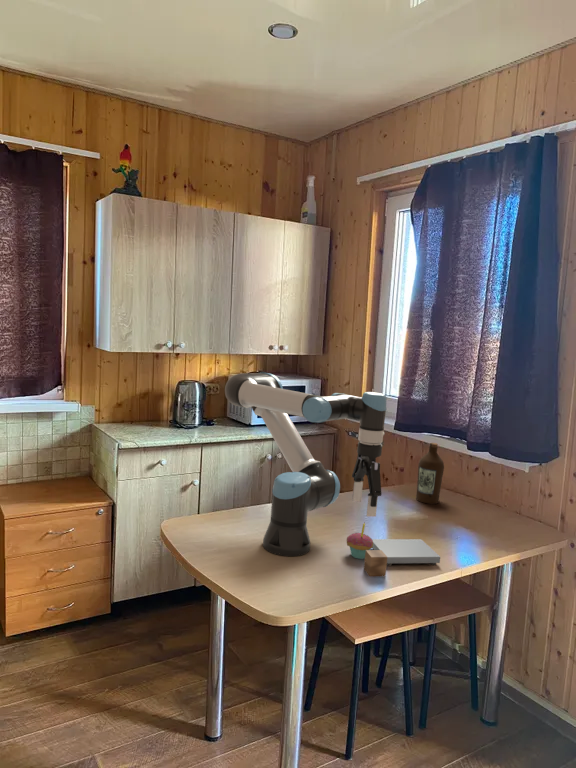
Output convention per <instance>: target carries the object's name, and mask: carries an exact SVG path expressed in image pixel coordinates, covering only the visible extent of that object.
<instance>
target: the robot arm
mask: <svg viewBox="0 0 576 768" xmlns="http://www.w3.org/2000/svg"><path fill="white" fill-rule="evenodd" d="M224 394H225V395H224V396H225V398H226V399H227V401H228V402H229V403H230V404H231V405H233V406H236V407H241V408H246V409H249V408H251V410H252V411H253V413H254V414H255V416H259V417H261V419H262V421H263V422H264V424H265V425H266V427H267V429H268V432H270V434H271V437H272V439H273V440H274V441H275V444H276V445H277V447H278V448H279V450H280V452H281V454H282V455H283V457H284V460H285V461H286V463H287V464H288V467H289V468H290V470H291V471H292V472H290V471H287V472H283V473H280V474H278V475H277V476H276V477H275V479H274V481H273V486H272V494H271V495H272V497H271V508H270V510H271V511H270V520H269V524H268V526H267V528H266V531H265V534H264V535H263V539H262V547H263V548H264V549H265V550H266V551H267V552H269V553H271V554H274V555H278V556H284V557H298V556H302V555H306V554H307V553H308V552H309V551H310V549H311V540H310V536H309V535H310V534H309V531H308V527H307V524H308V523H307V522H308V512H311V511H315V510H318V509H320V508H326V507H328V506H329V505H331V504H334V503H335V502H336V501H337V499H338V498H339V496H340V491H341V483H340V480H339V478H338V476H337V474H336V473H335V472H334V471H332V470H330V469H325V467H324V465H323V463H322V462H321V461H320V460H316V459H315V458H314V457H313V455H312V454H311V451H310V449H309V448H308V447H307V445H306V443H305V441H304V439H303V438H302V437H301V435H300V433H299V431H298V430H297V427H296V426H295V424H294V423H293V421H292V419H291V418H290V416H295V417H296V416H297V417H301V418H305V419H306V420H307V421H308V422H310V423H325V422H329V421H338V420H344V419H345V420H347V419H348V420H351V421H352V420H353V421H358V422H359V428H358V429H359V430H358V437H357V438H358V439H357V440H358V442H357V449H356V453H357V457H356V462H355V464H354V468H353V471H352V474H351V475H352V476H351V478H353V482H354V483H353V491H352V503H353V502H354V503H361V502H362V497H363V496H362V495H363V485H364V478H365V476H366V477H367V483H368V484H367V485H368V490H369V493H368V494H367V507H366V517H372V518H373V517H377V508H378V499H379V498H378V497H382V482H381V463H380V462H377V460H376V459H377V458H380V457H381V456H382V451H383V444H382V443H383V440H384V436H385V431H384V430H385V421H386V412H387V400H388V399H387V396H386V394H384V393H381V392H373V391H365V392H363V394H362V396H355V395H351V394H346V393H343V392H342V393H340V392H334V393H332V394H331V395H328V396H327V395H326V396H325V395H324V396H322V395H316V394H310V393H306V392H300V391H295V390H290V389H285V388H283V384H282V381H281V380H280V379H279V378H278V377H277V376H276V375H275V374H272V373H270V372H269V373H268V372H258V373H257V372H256V373H255V372H253V373H252V372H251V373H250V372H249V373H248V372H247V373H238V374H234V375H233V376H230V378H229V379H228V380H227V381H226V384H225V386H224ZM289 415H290V416H289Z"/></svg>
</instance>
